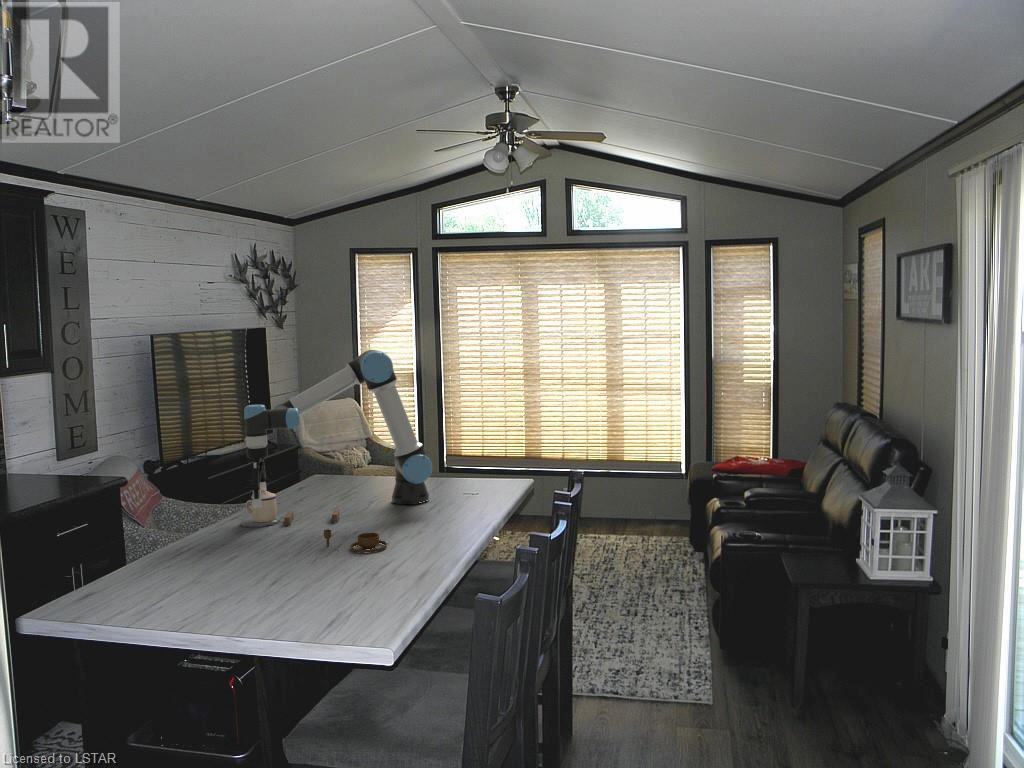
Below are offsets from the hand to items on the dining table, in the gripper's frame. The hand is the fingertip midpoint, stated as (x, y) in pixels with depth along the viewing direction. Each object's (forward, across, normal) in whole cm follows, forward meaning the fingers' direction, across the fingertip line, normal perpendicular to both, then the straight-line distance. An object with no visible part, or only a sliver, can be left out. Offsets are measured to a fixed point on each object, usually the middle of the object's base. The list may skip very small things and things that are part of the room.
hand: (260, 503), depth 310 cm
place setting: (+8, +41, +38) cm, 56 cm away
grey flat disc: (+7, 0, 0) cm, 7 cm away
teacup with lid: (+7, 0, 0) cm, 7 cm away
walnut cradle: (+8, +2, +19) cm, 20 cm away
